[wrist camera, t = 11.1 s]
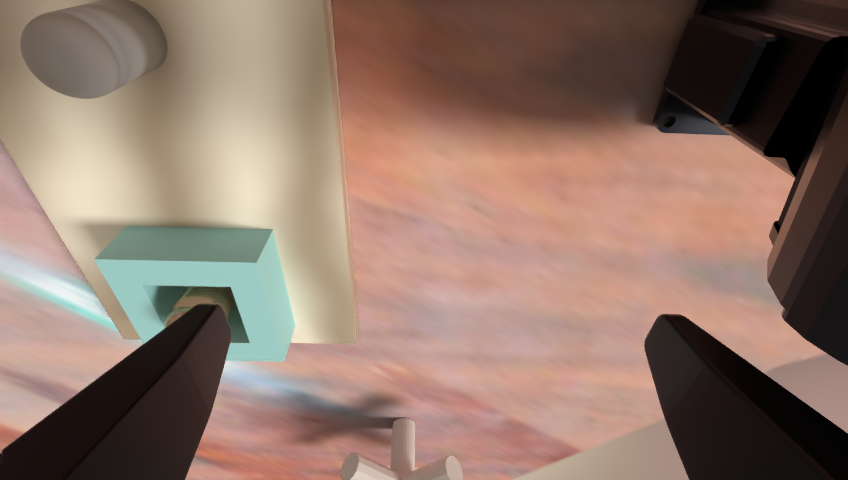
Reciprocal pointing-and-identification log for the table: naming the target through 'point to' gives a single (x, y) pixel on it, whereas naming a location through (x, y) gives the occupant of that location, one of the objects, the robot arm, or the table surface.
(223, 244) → the teal collar
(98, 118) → the birch stand board
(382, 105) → the table surface
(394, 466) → the pipe connector
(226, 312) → the bronze post
